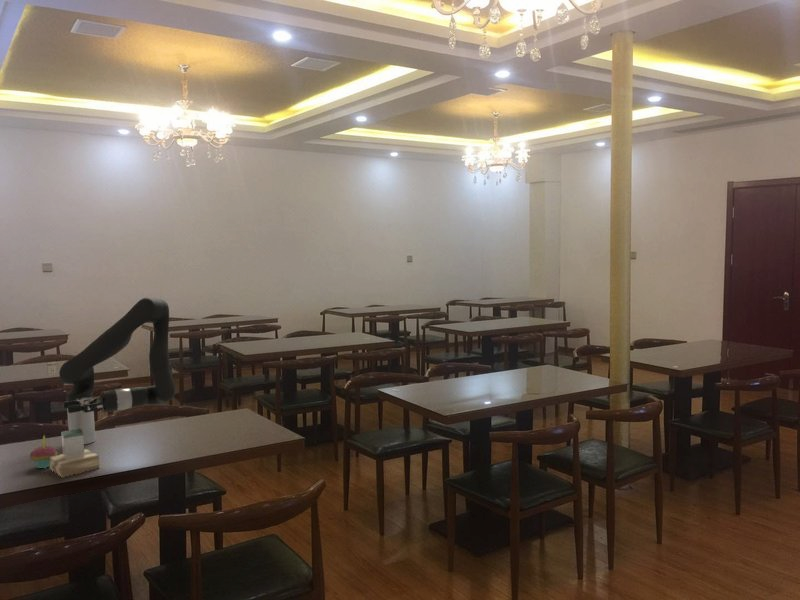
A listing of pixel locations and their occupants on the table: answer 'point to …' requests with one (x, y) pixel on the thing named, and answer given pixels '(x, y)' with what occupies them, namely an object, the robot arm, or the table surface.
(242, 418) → the table surface
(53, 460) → the birch box
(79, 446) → the tea tin
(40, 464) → the cupcake
